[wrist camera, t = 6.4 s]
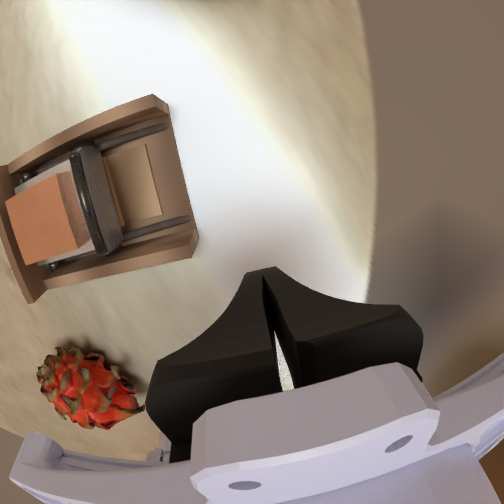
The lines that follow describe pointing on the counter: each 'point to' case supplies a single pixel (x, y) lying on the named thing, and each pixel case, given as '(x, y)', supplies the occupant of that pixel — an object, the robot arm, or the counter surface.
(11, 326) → the counter surface
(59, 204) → the wheeled platform dolly
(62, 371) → the dragon fruit
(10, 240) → the brown wooden open box
